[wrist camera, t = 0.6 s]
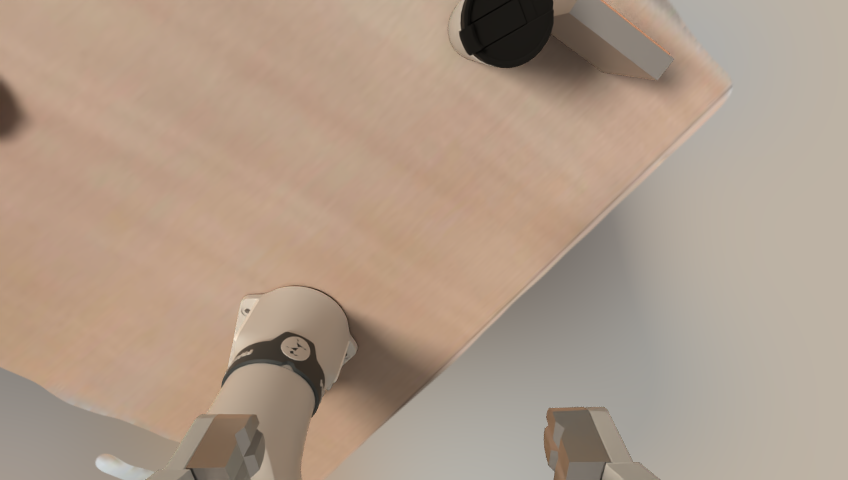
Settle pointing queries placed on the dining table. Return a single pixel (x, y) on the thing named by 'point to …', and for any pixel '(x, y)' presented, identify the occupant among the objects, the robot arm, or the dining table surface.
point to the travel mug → (500, 30)
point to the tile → (608, 39)
